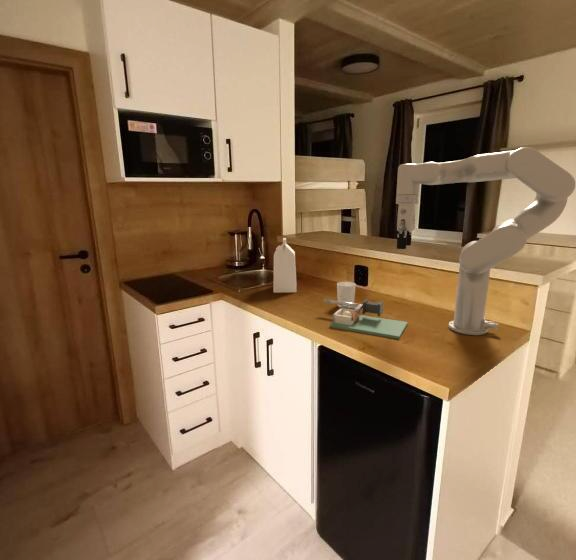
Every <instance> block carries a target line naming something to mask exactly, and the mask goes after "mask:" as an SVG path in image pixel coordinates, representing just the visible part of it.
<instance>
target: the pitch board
mask: <svg viewBox="0 0 576 560" xmlns="http://www.w3.org/2000/svg"><path fill="white" fill-rule="evenodd" d="M341 308H345V309H352V310H355V308H356V307H353V306H351V307H350V308H348V306H346V305H342V306H341ZM408 322H409V321H404V320H396V319H391V318H383V317H378V316H377V317H376V316H371V315H370V316H369V315H365V314H359V321H358V322H357V323H356V322H353V318H352V321H351V325H346V324H340V323H334V322H333V321H331V323H330V324H329V328H333V329H339V330H345V331H351V332H356V333H363V334H367V335H374V336H380V337H386V338H390V339H391V338H392V339H396V340H400V339H401V337H402V335H403V333H404V331H405V330H406V328H407V326H408Z"/></svg>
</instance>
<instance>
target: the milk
mask: <svg viewBox="0 0 576 560" xmlns="http://www.w3.org/2000/svg"><path fill="white" fill-rule="evenodd" d="M296 268H297V266H296V251H295V250H294V249H292V247H291V246H290V245H289V244H288V243H287V237H283V238H282V244H281V245H278V246H277V247H276V248H275V250H274V253H273V284H272V285H273V287H272V289H273V291H272V292H273V293H280V294H281V293H297V292H298V291H297V269H296Z"/></svg>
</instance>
